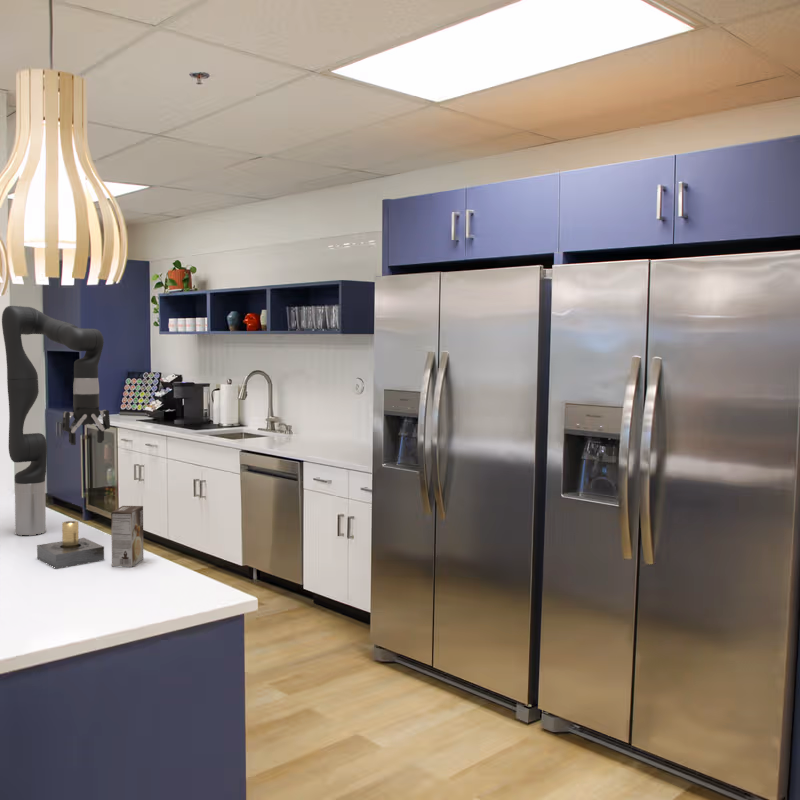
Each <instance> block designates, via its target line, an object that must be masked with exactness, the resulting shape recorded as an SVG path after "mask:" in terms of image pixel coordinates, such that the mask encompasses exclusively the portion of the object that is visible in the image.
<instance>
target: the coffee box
mask: <svg viewBox="0 0 800 800" xmlns="http://www.w3.org/2000/svg"><path fill="white" fill-rule="evenodd" d="M110 516H111V517H110V518H111V522H110V524H111V531H110V532H111V566H112V567H113V566H126V567H125V568H127V567H128V568H133V567H134V566H136V565H137V564H138V563H140V562H141V561H142V560H143V559H144V506H143V505H122V506H120V507H118V508H116V509H114V510H112V511H111V512H110ZM132 566H133V567H132Z"/></svg>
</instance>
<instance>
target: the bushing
mask: <svg viewBox="0 0 800 800" xmlns="http://www.w3.org/2000/svg"><path fill="white" fill-rule="evenodd" d="M61 524H62V526H61V529H62V530H61V531H62V534H61V535H62V537H61V538H62V539H61V541H62V548H65V549H68V548H77V547H79V539H80V538H79V535H80V534H79V521H77V520H67V521H64V522H63V521H62V523H61Z"/></svg>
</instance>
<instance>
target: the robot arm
mask: <svg viewBox="0 0 800 800" xmlns="http://www.w3.org/2000/svg"><path fill="white" fill-rule="evenodd" d="M1 326H2V336H3V341H4V347H5V356H6V383H7V384H6V385H7V397H8V398H7V399H8V412H9V414H8V416H9V418H8V419H9V420H8V455H9V457H10V460H11V462H13V463H28V462H30V464H29V465H28V466H26V468H24V469H23V470H21V471H18V472H17V473H15V474H14V512H15V513H14V521H15V522H14V523H15V525H14V527H15V529H14V532H15V533H16V534H15V535H17V534H18V535H17V536H22V535H29V536H36V534H38V535H42V534H44V533H46V530H47V527H46V526H47V524H46V519H47V518H46V515H47V514H46V510H47V509H46V474H47V457H48V442H47V439H46V436H45V435H44V434H42V433H41V432H36V433H24V426H25V421H26V418H27V416H28V414H29V412H30V410H31V409H32V407H33V406H34V404H35V403H36V400H37V399H38V397H39V393H40V390H39V376H38V375H39V374H38V372H37V369H36V367H35V366H34V365H33V362H32V361H31V359H30V358H29V357H28V355H27V354H26V352H25V349H24V346H23V341H22V335H25V336H27V335H45V337H47V338H48V339H49V340H50V341H53V342H55V343H58V344H62V345H64V346H65V347H67V348H68V349H70V350H73V351H77V352H85V353H84V355H83V357H82V358H78V359H76V360H75V361H74V363H73V384H72V385H73V386H72V388H73V389H72V390H73V392H72V393H73V397H72V398H73V399H72V400H73V405H72V408H73V410H72V411H63V412H62V424H61V426H62V427H61V430H62V431H63V432H66V433H68V443H69V444H70V445H71V446H76V442H77V441H76V440H77V438H76V437H77V436H76V431H77V429H78V428H79V427H81V426H87V425H90V426H91V425H93V426H94V427H95V428H96V429H97V431H96V437H97V438H96V439H97V440H96V442H97V443H99V444H102V443H103V442H104V440H105V431H106V430H108V429H110V428H111V421H110V411H109V410H107V409H102V410H100V383H99V382H100V381H99V364H100V361H101V360H100V359H101V356H102V352H103V349H104V343H105V342H104V336H103V334H102V332H101V331H100V330H99V329H96V328H79V327H78V326H76V325H75V324H72V323H71V322H67V321H62V320H59V319H56V318H53V317H51V316H48V315H46V314H45V313H43V312H42V311H40V310H38V309H36V308H34V307H31V306H21V305H19V306H18V305H7V306H6V307H4V309H3V312H2V315H1ZM100 416H101V418H102V423H101V421H100V419H98V418H99V417H100ZM72 418H74V420H73V421H72V423H70V420H71V419H72ZM70 424H71V425H70ZM41 533H42V534H41Z"/></svg>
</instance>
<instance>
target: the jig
mask: <svg viewBox="0 0 800 800" xmlns="http://www.w3.org/2000/svg"><path fill="white" fill-rule="evenodd" d="M36 554H37V555H36V556H37V557H36V558H38V560H39V559H40V561H41V562H43V563H45V564H46V563H47V564H46V565H48V564H49V565H48V566H50V565H51V567H52V566H53V567H52V568H54V567H55V568H54V569H56V568H57V569H62V568H61V567H63V568H66V566H68V567H73V566H72V565H74V566H78V565H77V564H79V565H84V564H83V563H85V564H89V563H88V562H90V563H95V562H94V561H96V562H100V561H99V560H102V561H105V546H103V545H102V544H99V543H96V542H94V541H92V540H90V539H88V538H85V537H82V538H81V537H80V538H79V547H77V548H68V549H65V548H62V540H60V541H55V542H49V543H48V542H47V543H42V544H37V545H36Z"/></svg>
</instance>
